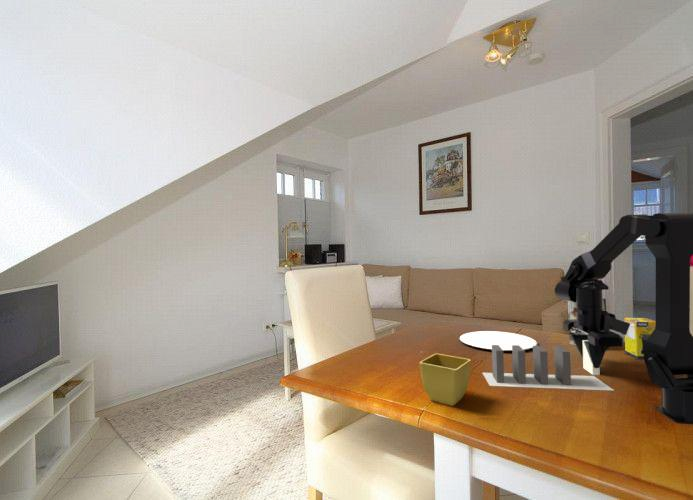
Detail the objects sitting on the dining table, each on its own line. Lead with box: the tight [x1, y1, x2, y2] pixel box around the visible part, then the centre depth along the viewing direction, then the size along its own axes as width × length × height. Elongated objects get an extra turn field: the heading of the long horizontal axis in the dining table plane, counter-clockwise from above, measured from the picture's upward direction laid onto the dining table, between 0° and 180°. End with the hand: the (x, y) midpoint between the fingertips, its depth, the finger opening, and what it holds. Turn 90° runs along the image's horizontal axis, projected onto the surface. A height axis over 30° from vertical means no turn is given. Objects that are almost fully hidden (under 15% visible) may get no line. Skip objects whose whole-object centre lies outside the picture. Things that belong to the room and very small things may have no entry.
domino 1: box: [491, 345, 505, 383], centre depth 89 cm, size 5×2×8 cm, turn 170°
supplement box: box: [623, 317, 656, 360], centre depth 104 cm, size 6×6×11 cm
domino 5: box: [582, 340, 601, 376], centre depth 92 cm, size 5×2×8 cm, turn 170°
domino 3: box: [532, 345, 549, 385], centre depth 87 cm, size 5×2×8 cm, turn 170°
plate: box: [459, 330, 538, 352], centre depth 123 cm, size 25×25×2 cm
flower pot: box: [419, 352, 472, 407], centre depth 78 cm, size 9×9×9 cm
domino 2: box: [511, 345, 527, 384], centre depth 88 cm, size 5×2×8 cm, turn 170°
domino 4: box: [553, 345, 572, 386], centre depth 86 cm, size 5×2×8 cm, turn 170°
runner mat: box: [482, 372, 615, 391], centre depth 87 cm, size 9×27×1 cm, turn 80°
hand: (591, 364), depth 92 cm, fingers closed on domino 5, 5 cm apart
